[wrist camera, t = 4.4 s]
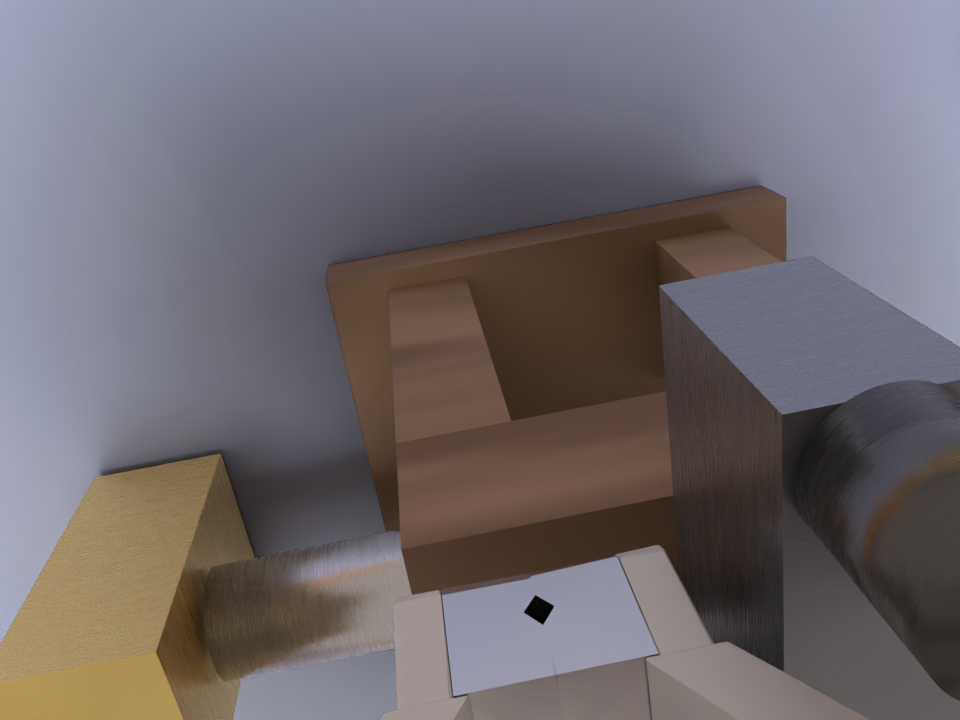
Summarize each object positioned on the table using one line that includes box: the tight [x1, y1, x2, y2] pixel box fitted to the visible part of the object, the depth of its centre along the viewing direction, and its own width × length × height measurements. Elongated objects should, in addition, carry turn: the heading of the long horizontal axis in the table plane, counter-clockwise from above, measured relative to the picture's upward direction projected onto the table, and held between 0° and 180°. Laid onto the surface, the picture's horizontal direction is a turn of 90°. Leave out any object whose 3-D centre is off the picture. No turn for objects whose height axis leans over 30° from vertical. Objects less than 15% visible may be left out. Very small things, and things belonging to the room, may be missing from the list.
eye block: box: [326, 186, 786, 595], centre depth 20 cm, size 14×12×12 cm
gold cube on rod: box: [0, 453, 412, 720], centre depth 22 cm, size 4×20×8 cm, turn 99°
